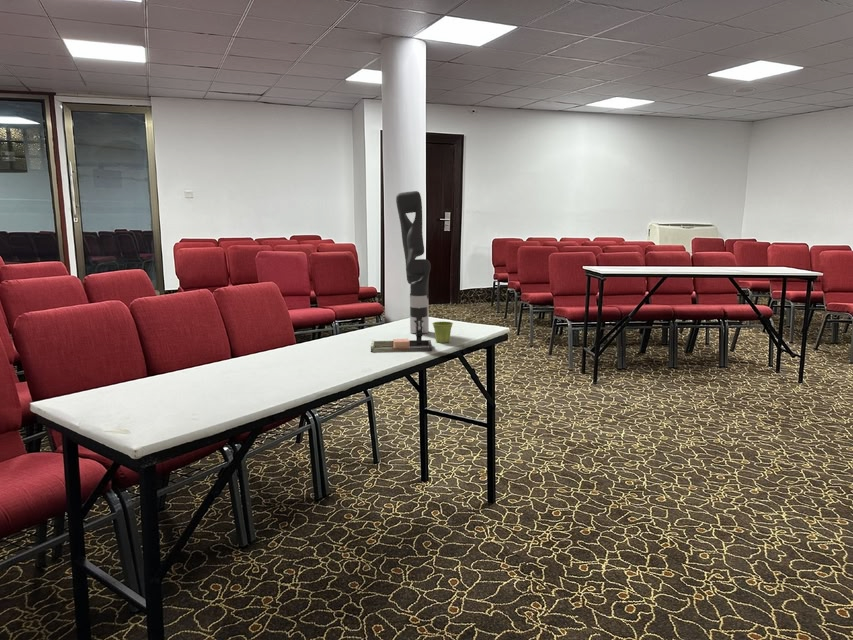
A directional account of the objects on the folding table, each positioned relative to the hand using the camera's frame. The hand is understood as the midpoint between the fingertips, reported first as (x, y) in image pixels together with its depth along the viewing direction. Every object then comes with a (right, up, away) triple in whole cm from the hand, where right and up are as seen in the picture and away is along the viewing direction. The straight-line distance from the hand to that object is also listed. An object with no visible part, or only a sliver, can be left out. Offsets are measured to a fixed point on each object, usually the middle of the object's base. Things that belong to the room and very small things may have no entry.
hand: (419, 345), depth 254 cm
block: (-8, -2, 0) cm, 8 cm away
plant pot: (+11, +1, +15) cm, 18 cm away
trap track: (-8, -2, 0) cm, 8 cm away
